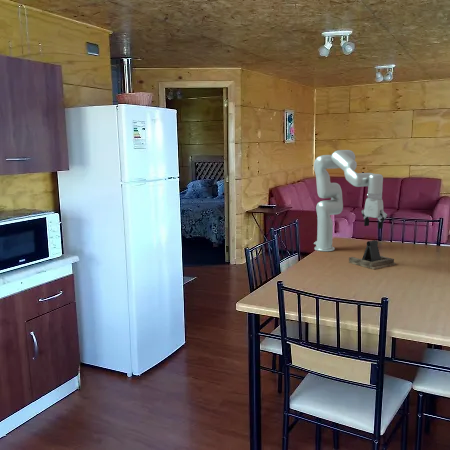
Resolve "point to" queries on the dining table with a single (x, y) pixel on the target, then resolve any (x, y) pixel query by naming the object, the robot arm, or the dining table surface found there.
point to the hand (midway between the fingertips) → (373, 227)
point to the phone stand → (372, 251)
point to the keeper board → (375, 264)
